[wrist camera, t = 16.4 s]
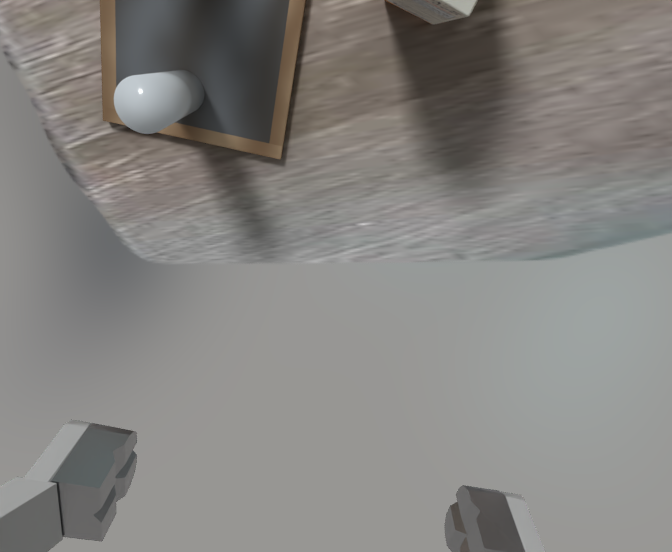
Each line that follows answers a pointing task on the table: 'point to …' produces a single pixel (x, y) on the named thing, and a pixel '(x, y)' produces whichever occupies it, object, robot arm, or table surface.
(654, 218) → the table surface
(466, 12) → the supplement box
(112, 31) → the slate board
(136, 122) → the chalk
